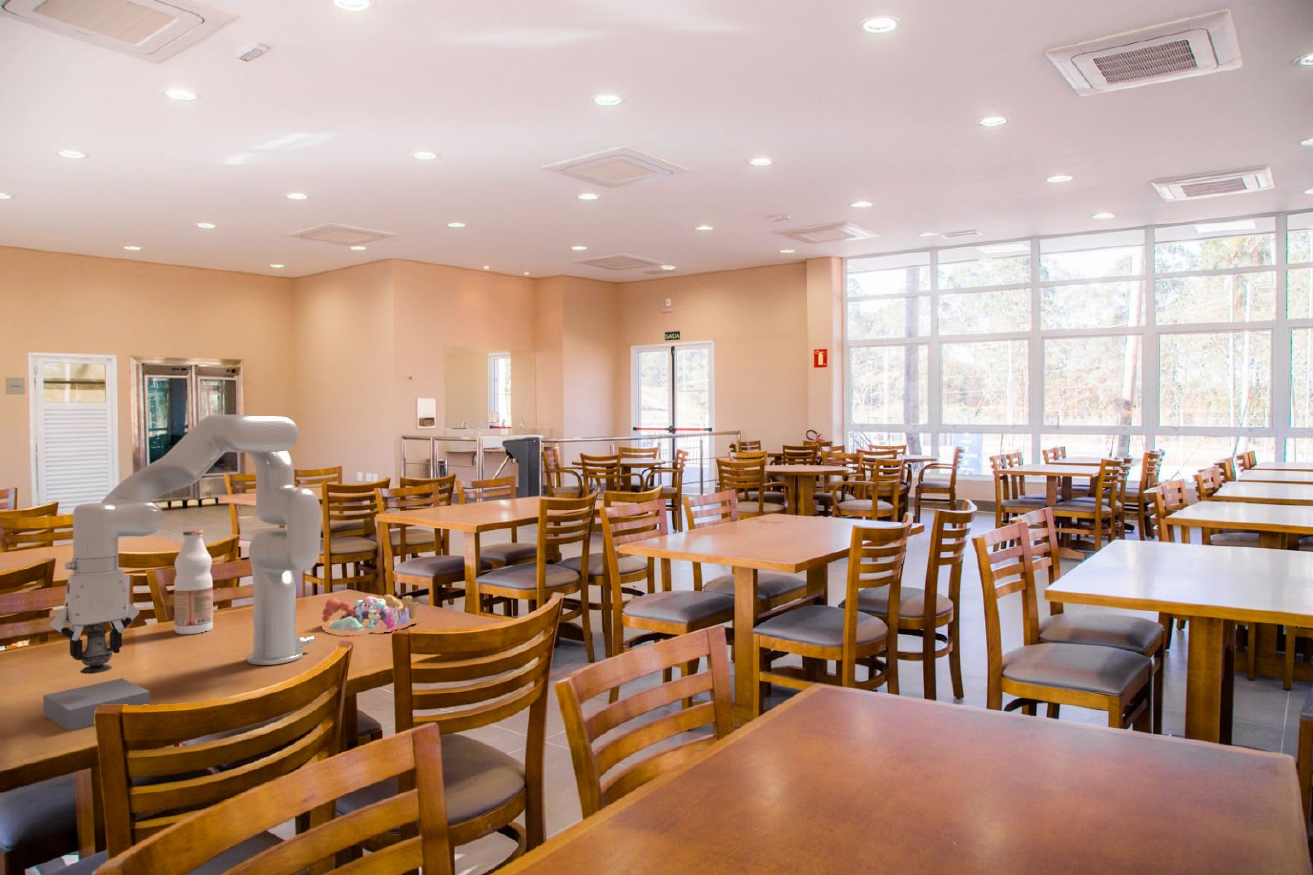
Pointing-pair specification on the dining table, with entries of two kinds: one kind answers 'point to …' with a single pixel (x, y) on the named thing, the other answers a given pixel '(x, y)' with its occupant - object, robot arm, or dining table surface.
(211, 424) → the robot arm
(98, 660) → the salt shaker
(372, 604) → the candy landscape model
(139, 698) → the stand
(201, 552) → the fruit juice
